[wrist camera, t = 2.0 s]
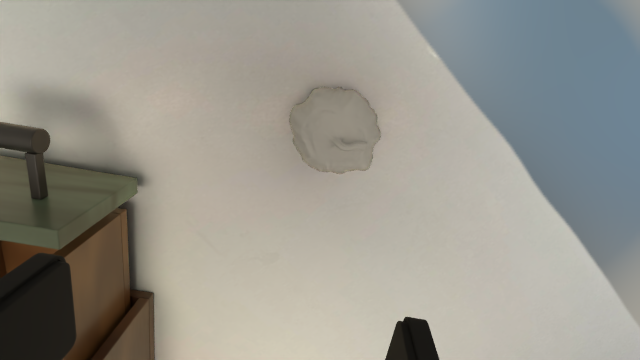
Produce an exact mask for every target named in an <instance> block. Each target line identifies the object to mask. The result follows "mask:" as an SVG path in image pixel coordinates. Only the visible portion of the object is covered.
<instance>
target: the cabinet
mask: <svg viewBox="0 0 640 360" xmlns="http://www.w3.org/2000/svg"><path fill="white" fill-rule="evenodd" d="M130 302H131V309H130V310H129V312H128V313H127V314H126V315H125V317H124V318H123V319H122V321H121V322H120V323H119V324H118V326H117V327H116V328H115V329H114V331H113V332H112V333H111V334H110V336H109V337H108V338H107V339H106V341H105V342H104V343H103V344H102V346H101V347H100V348H99V350H98V351H97V352H96V353H95V355H94V356H93V357H92V358H91V360H154V303H153V293H150V292H144V291H138V290H132V289H130Z"/></svg>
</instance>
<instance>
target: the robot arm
mask: <svg viewBox="0 0 640 360" xmlns="http://www.w3.org/2000/svg"><path fill="white" fill-rule="evenodd" d="M76 337H77V334H76V323H75V312H74V302H73V291H72V281H71V270H70V265H69V263H67V262H66V260H65V258H64V257H62V256H58V255H53V254H47V253H37V254H35V255H34V256H32V257H31V258H29V259H28V260H26V261H25V262H23V263H22V264H21V265H19V266H18V267H16V268H15V269H13V270H12V271H10V272H9V273H7V274H6V275H5V276H3V277H2V278H0V360H62V359H63V358H64V357H65V356H66V355H67V354H68V352H69V351H70V350H71V349H72V347H73V346H74V344H75V341H76ZM385 360H439V357H438V354H437V351H436V348H435V344H434V341H433V338H432V335H431V331H430V328H429V325H428V323H427V321H426V320H422V319H416V318H411V317H405V318H404V321H403V322H402V321H398V322H397V324H396V327H395V330H394V333H393V337H392V340H391V343H390V346H389V349H388V353H387V356H386V359H385Z"/></svg>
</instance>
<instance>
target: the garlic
mask: <svg viewBox="0 0 640 360" xmlns="http://www.w3.org/2000/svg"><path fill="white" fill-rule="evenodd" d="M289 122H290V125H291V130H292V133H293V135H294V136H293V143H294V145H295V146H296V148H297V150H298V152H299V153H300V154H301V156H302V160H303V161H304V162H305V163H306V164H308V166H310V167H312V168H314V169H316V170H318V171H322V172H333V173H337V174H343V173H345V172H347V171H354V170H360V171H365V170H368V169H369V168H370V164H371V162H372V159H373V154H372V152H373V148H374V145H375V144H376V143H377V142H378V141H379V140H380V137H381V131H380V129H379V127H378V125H377V115H376V113H375V111H374V110H373V109H372V108H371V107H370V105H369V102H368V101H367V100H366V99H365V98H363V97H362V96H361V94H360V93H359V92H358V91H356V90H343V89H342V88H341V87H338V88H337V89H332V88H328V87H321V88H316V89H314V90H313V91H312V92H311V95H310V96H309V97H308V98H307V100H306V101H305V102H304V103H302V104H297V105H295V106H294V107H293V108H292V110H291V113H290V118H289Z"/></svg>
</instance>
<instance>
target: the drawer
mask: <svg viewBox="0 0 640 360" xmlns="http://www.w3.org/2000/svg"><path fill="white" fill-rule="evenodd" d="M49 145H50V136H49V134H48V132H47V131H46V130H44V129H40V128H34V127H28V126H22V125H16V124H10V123H4V122H0V148H5V149H11V150H17V151H23V152H27V153H25V157H26V160H24V159H18V158H12V157H6V156H0V278H2V277H3V276H5V275H6V274H7V273H9V272H10V271H12V270H13V269H15V268H16V267H18V266H19V265H21V264H22V263H23V262H25V261H26V260H28V259H29V258H31V257H32V256H34V255H35V254H37V253H47V254H53V255H58V256H62V257H64V258H65V260H66V262H67V263H69V265H70V270H71V281H72V291H73V302H74V312H75V323H76V334H77V337H76V341H75V344H74V346H73V347H72V349H71V350H70V351H69V352H68V354H67V355H66V356H65V357H64V358H63V359H62V360H91V358H92V357H93V356H94V355H95V353H96V352H97V351H98V350H99V348H100V347H101V346H102V344H103V343H104V342H105V341H106V339H107V338H108V337H109V336H110V334H111V333H112V332H113V331H114V329H115V328H116V327H117V326H118V324H119V323H120V322H121V321H122V319H123V318H124V317H125V315H126V314H127V313H128V312H129V310H130V309H131V302H130V278H129V254H128V230H127V210H126V209H121V208H117V207H119V206H120V205H121V204H123V203H124V202H126V201H127V200H128V199H130V198H131V197H132V196H134V195H135V194H136V193H137V192H138V190H137V178H133V177H127V176H121V175H115V174H109V173H103V172H97V171H91V170H85V169H79V168H73V167H67V166H61V165H55V164H49V163H44V158H43V153H44V152H45V151H46V150H47V149H48V147H49Z"/></svg>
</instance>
